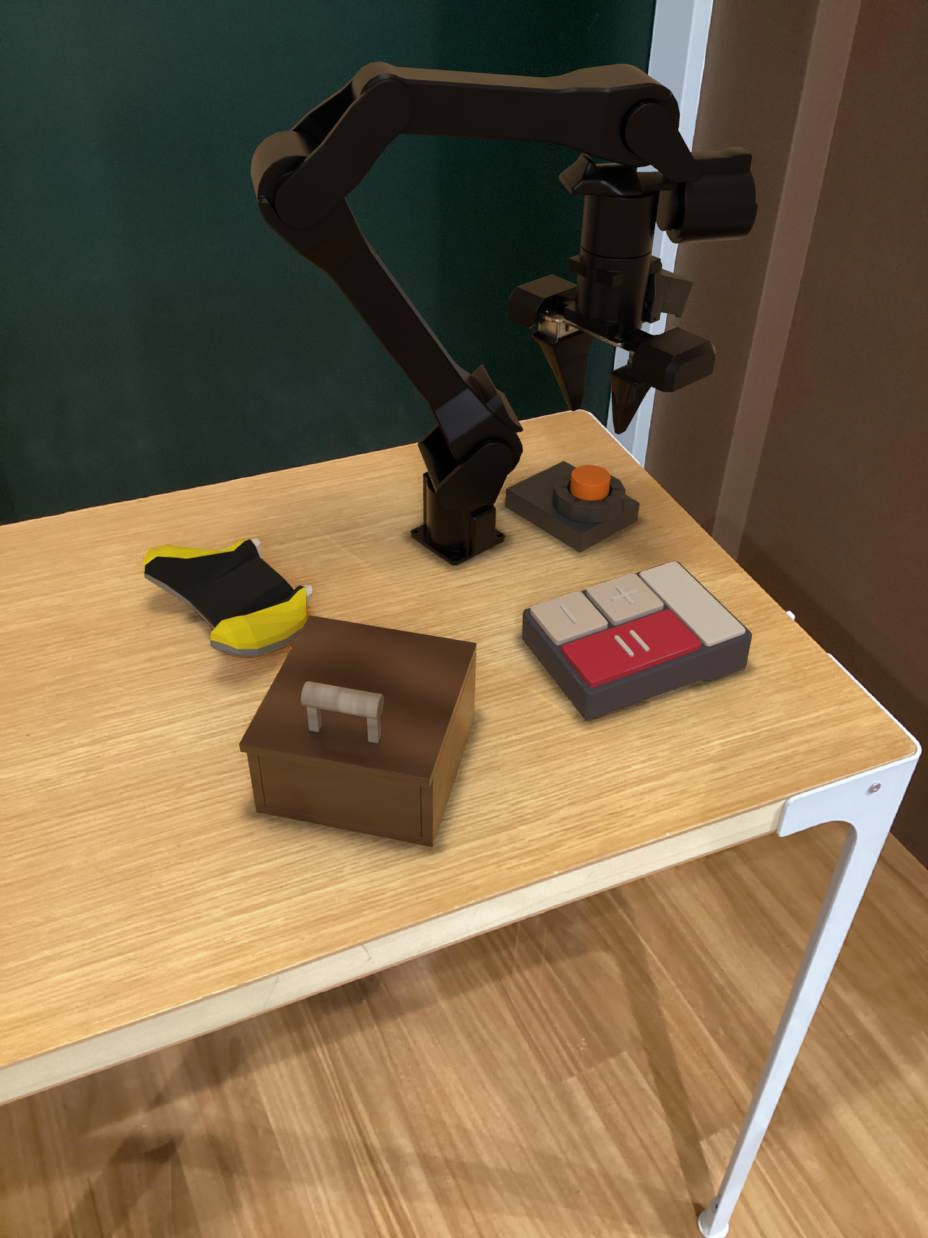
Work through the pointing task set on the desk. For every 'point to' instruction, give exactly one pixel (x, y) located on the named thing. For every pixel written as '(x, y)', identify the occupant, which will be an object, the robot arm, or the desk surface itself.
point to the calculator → (635, 638)
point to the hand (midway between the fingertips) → (597, 420)
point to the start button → (590, 482)
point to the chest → (365, 789)
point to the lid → (363, 701)
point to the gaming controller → (233, 595)
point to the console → (571, 507)
